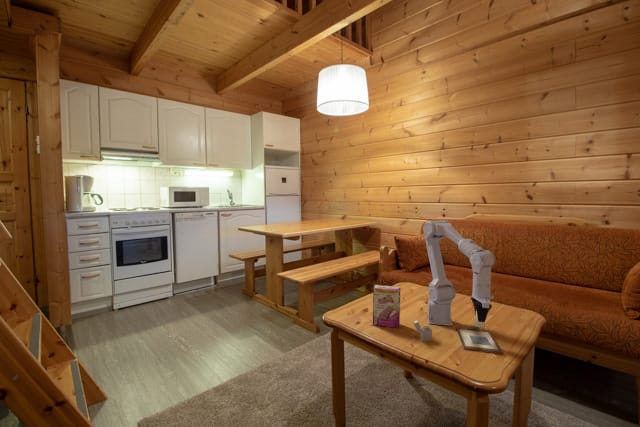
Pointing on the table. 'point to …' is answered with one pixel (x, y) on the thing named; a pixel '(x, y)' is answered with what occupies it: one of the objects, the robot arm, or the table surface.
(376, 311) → the candy bar box
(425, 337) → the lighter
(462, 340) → the picture frame
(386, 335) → the table surface
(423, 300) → the table surface
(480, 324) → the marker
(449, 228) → the robot arm
